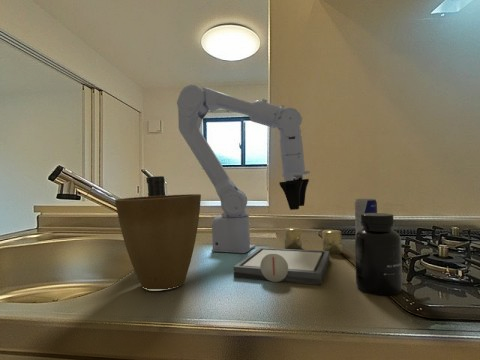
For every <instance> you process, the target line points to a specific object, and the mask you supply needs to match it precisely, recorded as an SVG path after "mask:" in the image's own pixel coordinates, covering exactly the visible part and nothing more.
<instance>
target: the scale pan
mask: <svg viewBox="0 0 480 360" xmlns="http://www.w3.org/2000/svg"><path fill="white" fill-rule="evenodd" d="M270 253H277V254H279V255H281V256H283V257H284V258H285V260H286V261H287V264H288V269H289V270H302V271H315V269H316V267H317V265H318V263H319V261H320V259H321V256H322V253H319V252H299V251H280V250H262V251H261V252H260V253H258V254H257V255H256V256H254V257H253V258H252V259H251V260H249V261H248V262H247V263H246V264H244V265H243V266H249V267H260V265H261V261H262V259H263V258H264V257H265V256H266V255H267V254H270Z"/></svg>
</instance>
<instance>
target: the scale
mask: <svg viewBox="0 0 480 360" xmlns="http://www.w3.org/2000/svg"><path fill="white" fill-rule="evenodd" d="M262 250H280V251H299V252H319V253H322V256H321V259H320V261H319V263H318V265H317V267H316V269H315V271H302V270H289V269H288V264H287V261H286V260H285V258H284V257H283V256H281V255H279V254H277V253H270V254H267V255H266V256H265V257H264V258H263V259H262V261H261V265H260V267H249V266H243V265H244V264H246V263H247V262H248V261H249V260H251V259H252V258H253V257H254V256H256V255H257V254H258V253H260V252H261V251H262ZM329 262H330V254H329V251H323V250H315V249H314V250H313V249H311V250H310V249H300V250H295V249H285V248H272V247H258V248H256V250H254V251H253V252H252V253H249V255H247V256H246V257H244V258H243V259H241V260H240V261H239V262H238V263H237V264H234V266H233V277H234V278H238V279H239V278H240V279H249V280H250V279H251V280H259V281H260V280H261V281H270V282H274V283H277V282H283V283H294V284H306V285H317V286H318V285H319V286H322V283H323V281H324V277H325V274H326V273H327V272H326V271H327V268H328V266H329V264H330V263H329Z"/></svg>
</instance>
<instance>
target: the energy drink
mask: <svg viewBox="0 0 480 360" xmlns="http://www.w3.org/2000/svg"><path fill="white" fill-rule="evenodd" d="M364 213H378V201H377V199H375V198H356V199H355V201H354V219H355V220H354V222H355V234H356V233H357V232H358V231H359V230H361V229H362V225H361V223H360V222H361V214H364Z"/></svg>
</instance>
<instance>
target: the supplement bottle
mask: <svg viewBox="0 0 480 360" xmlns="http://www.w3.org/2000/svg"><path fill="white" fill-rule="evenodd" d="M360 223H361V225H362V229H361V230H359V231H358V232H357V233H356V232H355V235H354V249H355V250H354V252H355V254H354V255H355V257H354V259H355V284H356V287H358V288H359V290H361V291H363V292H366V293H369V294H374V295H378V296H394V295H397V293H398V294H399V293H401V291H402V290H403V265H402V263H403V260H402V237H401V236H400V234H399V233H398V232H397V231H395V230H393V227H395V223H394V214H392V213H386V212H385V213H383V212H377V213H364V214H361V222H360Z"/></svg>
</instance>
